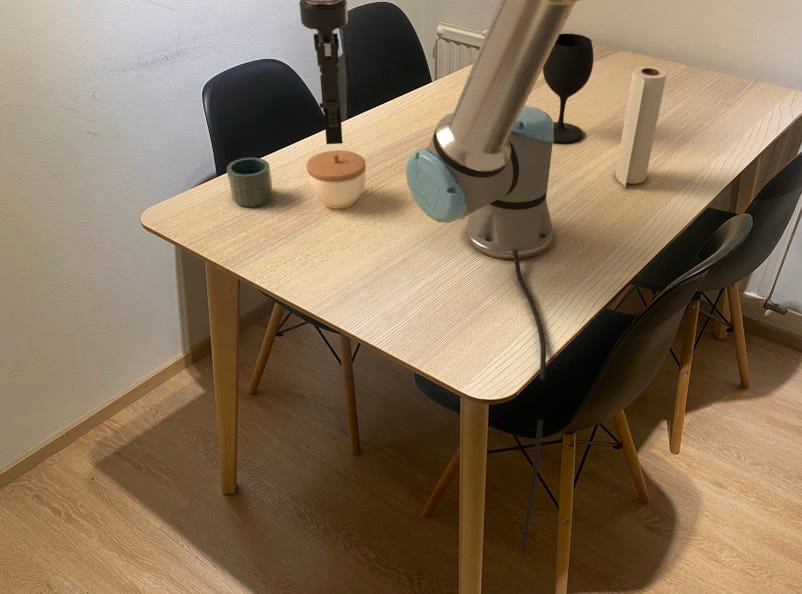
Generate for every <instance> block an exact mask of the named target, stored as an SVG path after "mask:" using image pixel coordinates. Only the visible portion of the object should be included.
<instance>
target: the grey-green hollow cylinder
mask: <svg viewBox="0 0 802 594" xmlns="http://www.w3.org/2000/svg"><path fill="white" fill-rule="evenodd" d="M226 173H227V179H228V184H229V191H230V195H231V199H232V201H233V202H234V203H236V204H237V205H238V206H241V207H245V208H257V207H261V206H264V205H266V204H268V203H269V202H270V201H271V200H272V198H273V197H274V188H273V182H272V175H271V169H270V163H269V162H268V161H267V160H265V159H263V158H260V157H243V158H239V159H235V160H233V161H232V162H230V163H229V164H227V167H226Z"/></svg>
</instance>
